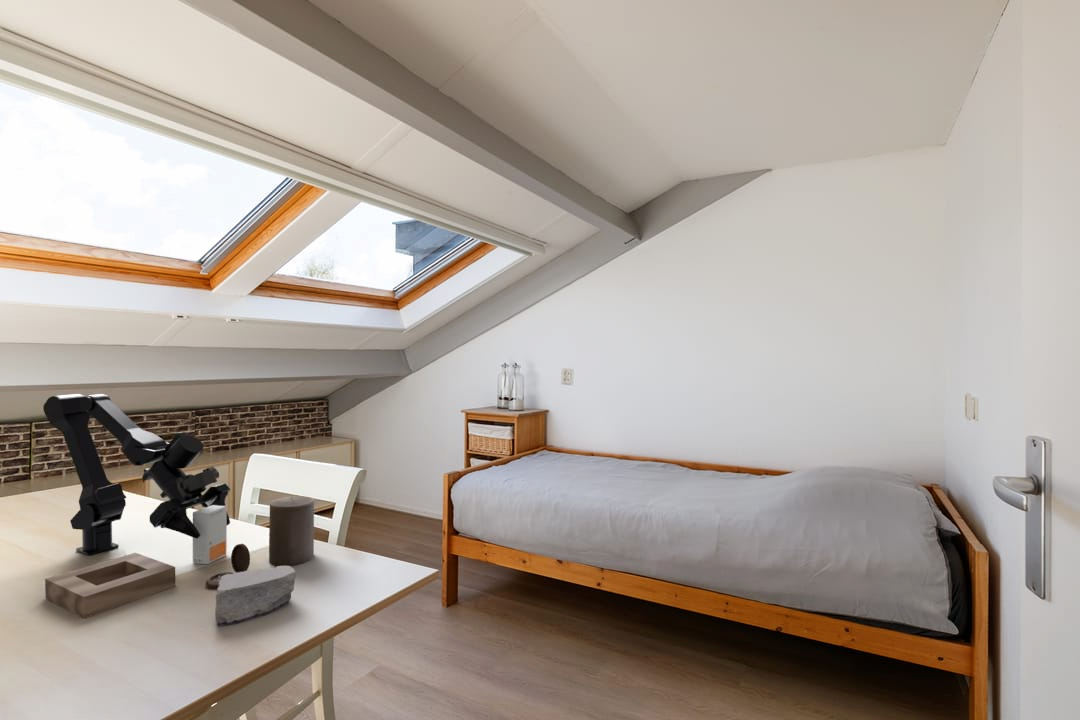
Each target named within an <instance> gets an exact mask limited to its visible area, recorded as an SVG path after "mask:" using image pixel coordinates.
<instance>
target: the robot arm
mask: <svg viewBox="0 0 1080 720" xmlns="http://www.w3.org/2000/svg"><path fill="white" fill-rule="evenodd" d="M42 409H43V412H44V415H45V417H46V419H47V420H48V422H49V424H50V425H51V426H52V427H54V428H55V429H56V430H57V431H59V432H60V433H62V436H63V438H64V441H65V443H66V447H67V449H68V452H69V455H70V457H71V461H72V463H73V466H74V468H75V471H76V474H77V476H78V479H79V482H80V485H81V489H82V490H81V492H80V496H79V499H78V505H79V510H78V511H77V513H76V514H74V516H73V517H72V518H71V519H70V526H71V528H72V529H73V530H81V531H82V533H81V534H82V536H81V537H82V539H81V540H82V546H79V547H77V548H75V550H76V552H79V553H82V554H84V555H87V556H90V555H94V554H95V555H96V554H99V553H101V552H104V551H108V550H112V549H113V550H114V549H116V548H119V547H120V545H119V544H118V543H115V542H113V524H112V522H115V521H119V520H121V519H122V516H123V512H124V510H125V507H126V505H127V504H126V503H127V502H126V498H127V496H126V495H125V493H124V491H123V487H122V486H123V485H122V484H121V483H119V482H117V483H113V482H112V481H110V480H109V479H108V477H107V474H106V472H105V469H104V467H103V463H102V461H101V458H100V455H99V452H98V450H97V447H96V444H95V442H94V439H93V436H92V434H91V432H90V428H89V423H90V419H91V417H92V418H94V419H95V420H96V421H97V422H98V423H99V424H100V425H101V426H102V427H103V428H104V429H106V430H107V431H108V433H110V434H111V436H113V437H114V438H115V439H116V440H117V441H118V442H119V443H120V444H121V451H122V454H123V455H124V456H125V457H126V458H127V460H128V461H129V463H130V464H132V465H133V466H135V467H136V466H139V467H140V466H144V465H148V464H151V463H152V464H151V465H150V467H146V468H144V469H143V475H142V477H141V480H142V482H145V481H148V480H152V481H154V483H155V484H156V485H157V486H158V487H159V489H160V490H161V491H162V492H161V493H160V497H161V498H162V499H164V498H168V500H166V501H163V502H161V503H160V504H158V505H157V507H156V508H155V509H154V511H152V513H151V514H150V515H149V523H150V524H151V525H152V526H153V527H154V528H158V527H160V529H168V530H172V531H175V532H178V533H180V534H183V535H186V536H188V537H191V538H192V539H193V538H196V539H197V538H199V537H200V533H199V532H198V530H197V529H196V527H195V526H194V525H193V521H192V520H191V519H190V518H189V516H188V515H187V514H188V513H187V509H191V508H194V507H196V506H200V505H201V506H202V508H205V507H209V506H211V505H217V506H226V497H227V496H228V495H229V492H230V491H231V488H230V487H229V486H228V485H227V483H225V482H224V483H221V482H220V483H218V484H215V483H217V482H218V478H220V473H219V471H218V469H216V467H214V465H211V466H209V467H207V468H205V469H203V470H202V472H199V473H195V474H192V473H191V474H186V473H185V472H184V471H183V469H185V468H187V467H189V465H191V463H193V461H194V460H195V459H196V458H197V457H198V456H199V455H200V454H201V452H202V451H203V450H204V444H203V442H202V441H201V440H200V439H198V438H197V437H194V436H193V435H189V434H187V433H186V432H185V431H182V432H177V433H175V435H174V436H173V438H172V439H171V440H170V442H166V440H164V439H163V438H161V437H160V436H159V435H157V434H155V433H153V432H151V431H147V430H144V429H142V428H140V426H138V425H137V424H136V423H135V422H134V421H133V420H132V419H131V418H130V417H129V416H127V415H126V413H124V412H123V411H122V410H121V409H120V408H119V407H118V406H117V405H116V404H114V403H113V401H111V398H110V397H109V395H107V394H104V393H100V394H90V395H84V394H83V395H82V394H80V393H72V394H62V395H52V396H50V397H48V398H47V399H46V401H45V403H44V405H43V408H42ZM211 484H215V485H212V486H210V485H211ZM208 485H209V486H210V487H209V488H208V489H207V486H208ZM203 492H204V494H202V493H203ZM230 524H231V520H230V517H229V514H228V512H227V526H229V525H230Z"/></svg>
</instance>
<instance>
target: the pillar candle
mask: <svg viewBox="0 0 1080 720" xmlns="http://www.w3.org/2000/svg"><path fill="white" fill-rule="evenodd" d="M314 523H315V498H313V497H310V496H300V495H298V496H297V495H296V496H292V495H290V496H285V497H284V496H283V497H280V498H276V499H273V500H271V501H270V502H269V534H268V537H269V538H268V562H269V563H270V564H271V563H272V564H271V565H273V566H290V567H293V566H298V565H301V564H304V563H303V562H305V563H307V562H309V561H310V559H311V558H312V557H313V558H314V555H315V554H314V551H315V549H314V547H315V546H314V544H315V541H314V539H315V534H314V533H315V524H314ZM313 558H312V559H313ZM312 559H311V560H312ZM308 560H309V561H308ZM306 561H307V562H306ZM300 563H301V564H300ZM297 564H298V565H297Z"/></svg>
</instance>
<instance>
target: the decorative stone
mask: <svg viewBox="0 0 1080 720" xmlns="http://www.w3.org/2000/svg"><path fill="white" fill-rule="evenodd" d="M233 573H234V574H226V575H224V576H222V577H221V580H220V581H219V584H218V589H216V594H215V600H216V601H215V610H214V611H215V612H214V614H215V615H214V616H215V621H216V625H218V626H222V627H223V626H228V625H233V624H240V623H241V622H242V623H243V622H247V621H250V620H252V619H256V618H259V617H262V616H265V615H268V614H271V613H272V612H275V611H277V610H278V609H280V608H282V607H284V606H286V605H287V604H288V603H290V601H291V599H292V593H293V591H294V590H295V582H296V576H297V572H296V570H295V569H294V568H293V566H278V565H276V567H275V568H271V567H266V568H255V569H251V570H247V571H244V572H237V573H236V572H233Z"/></svg>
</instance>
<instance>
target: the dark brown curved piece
mask: <svg viewBox="0 0 1080 720" xmlns="http://www.w3.org/2000/svg"><path fill="white" fill-rule="evenodd" d="M230 561H231V562H230V563H231V567H232V569H233V571H234V572H232V571H231V572H229V571H227V572H226V571H225V572H220V573H216V574H213V575H212V576H210V577H209V578H208V579H207V580H206V581H205V587H206V588H208V589H211V590H217V589H218V584H219V581H220V580H221V577H222V576H224V575H226V574H234V573H237V572H244V571H248V569H249V567H250V564H251V563H250V562H251V553H250V551H249V548H248V546H247V545H245V544H244V543H238V544H236V545H234V547H233V549H232V551H231V557H230Z"/></svg>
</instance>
